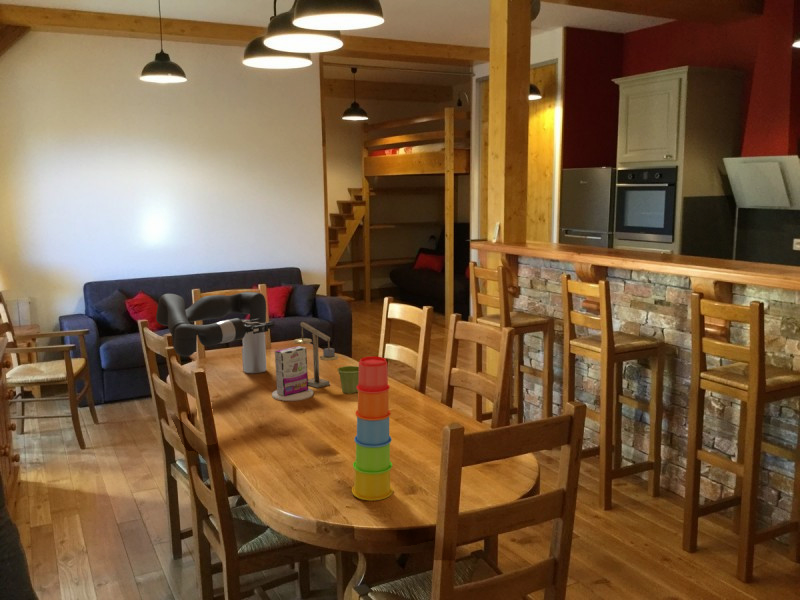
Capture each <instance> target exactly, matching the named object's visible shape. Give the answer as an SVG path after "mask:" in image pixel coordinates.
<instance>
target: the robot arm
mask: <svg viewBox="0 0 800 600" xmlns="http://www.w3.org/2000/svg"><path fill="white" fill-rule="evenodd" d="M158 299H159V300H158V304H157V309H156V315H155V319H156V322H157V323H158V324H159V325H161V326H164V327H165V326H166V327H168V330H169V333H170V336H171V339H172V347H173V350H175V351H176V352H175V351H174V352H175V353H176V354H177V355H178V356H180V357H190V356H192V355H193V354H195V352H196V351H197V347H198V346H197V342H198V341H199V343H200V344H201V345H202V346H205V347H210V346H214V345H218V344H226V343H229V342H230V343H231V342H236V341H239V340H242V348H241V355H242V356H241V359H242V371H243V372H244V373H246V374H261V373H264V372H266V371H267V353H266V352H267V351H266V332H269V330H271V329H275V326H276V325H275V321H267V301H266V298H265V295H263V293H260V292H253V291H252V292H251V291H245V292H239V293H236V294H231V295H225V294H214V295H213V294H212V295H205V296H203V297H200V298H199V299H197V300H195V302H193V303H192V304H191V305H190V306H189V307H187V308H186V307H185V306H186V303H185V299H184V297H182V296H180V295H178V294H175V293H164V294H162V295H161V296H160V297H159V298H158ZM229 314H244V315H249V319H245V318H242V319H241V318H238V317H236V318H230V319H225V320H221V321H217V322H214V323H208V324H191V323H193V322H199V321H207V320H217V319H222V318H225V317H226V316H227V315H229ZM197 340H198V341H197Z"/></svg>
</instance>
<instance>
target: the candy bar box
mask: <svg viewBox="0 0 800 600" xmlns="http://www.w3.org/2000/svg"><path fill="white" fill-rule="evenodd" d="M307 356H308V355H307V347H304V346H301V345H297V346H293V347H288V348H283V349H279V350H274V361H275V378H276V381H275V382H276V390H277V394H278V395H281V396H288V395H292V394H296V393H300V392H303V391H307V390H308V388H309V386H308V380H309V375H308V357H307Z"/></svg>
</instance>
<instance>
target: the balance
mask: <svg viewBox="0 0 800 600" xmlns="http://www.w3.org/2000/svg"><path fill="white" fill-rule="evenodd" d="M300 326H301V338H296V339H294V340H293V343H294V344H298V345H299V344H300V345H304V344H310V343H312V354H313V355H312V357H313V378H308V387H309V386H310V387H312V388H316V389H318V388H319V389H320V388H322V387H323V388H324V387H326V386H330V380H327V379H323V378H320V364H319V363H320V360H322V361H335V360H338V359H339V355H337V354H335V351H336V350H335V348H333V347H330V341H331V337H330V336H328V335H326V334H325V333H323V332H321V331H320V330H318V329H316V328H315V327H313V326H312V325H310V324H308V323H306V322H303V321H302V322H300ZM304 329H305V330H307V331H308V332H310V333H312V339H311V338H306V337H305V338H304ZM319 338H321V339H322V340H324V341H326V342H327V348H323V349H322V351H323V352H322V353H323V354H322V355H320V356H319ZM319 359H320V360H319Z"/></svg>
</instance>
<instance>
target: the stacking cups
mask: <svg viewBox="0 0 800 600" xmlns="http://www.w3.org/2000/svg"><path fill="white" fill-rule="evenodd" d="M358 367H359V381H358V385H357V387H356V388H357V390H358V392H357V410H356V411H355V414H354V415H355V416H356V436H354V442H355V461H353V463H352V468H353V469H354V486H352V488H351V493H352V495H353V497H355V498H357V499H359V500H363V501H368V502H369V501H370V502H371V501H372V502H373V501H381V500H384V499H385V500H386V499H387V498H389V497H391V496H392V494H393V492H394V489H393V487H392V486H391V469H392V468H393V462H391V455H390V454H391V450H390V449H391V448H390V447H391V442H392V437H391V435H390V416H391V415H392V412H391V410H390V409H389V390H390V388H391V387H390V385H389V384H388V382H389V381H388V379H389V378H388V374H389V373H388V372H389V371H388V361H387V360H386V358H385V357H383V356H376V355H375V356H371V355H370V356H365V357H362V358H360V360H359V362H358Z"/></svg>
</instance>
